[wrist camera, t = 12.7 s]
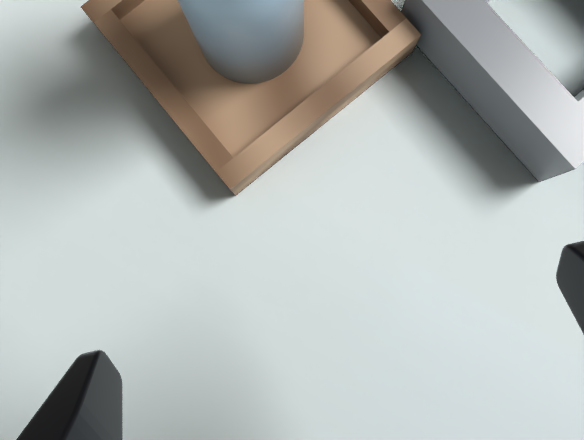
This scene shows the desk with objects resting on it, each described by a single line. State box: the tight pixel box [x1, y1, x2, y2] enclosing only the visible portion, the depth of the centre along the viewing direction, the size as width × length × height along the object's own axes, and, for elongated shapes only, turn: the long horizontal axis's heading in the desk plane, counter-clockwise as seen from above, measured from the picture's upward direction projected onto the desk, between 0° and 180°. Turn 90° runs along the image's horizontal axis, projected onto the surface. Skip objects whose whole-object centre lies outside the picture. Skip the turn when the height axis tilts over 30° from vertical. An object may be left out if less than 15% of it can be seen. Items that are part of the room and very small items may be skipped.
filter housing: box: [401, 0, 584, 182], centre depth 22 cm, size 10×10×3 cm
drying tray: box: [81, 0, 421, 195], centre depth 23 cm, size 11×11×2 cm
